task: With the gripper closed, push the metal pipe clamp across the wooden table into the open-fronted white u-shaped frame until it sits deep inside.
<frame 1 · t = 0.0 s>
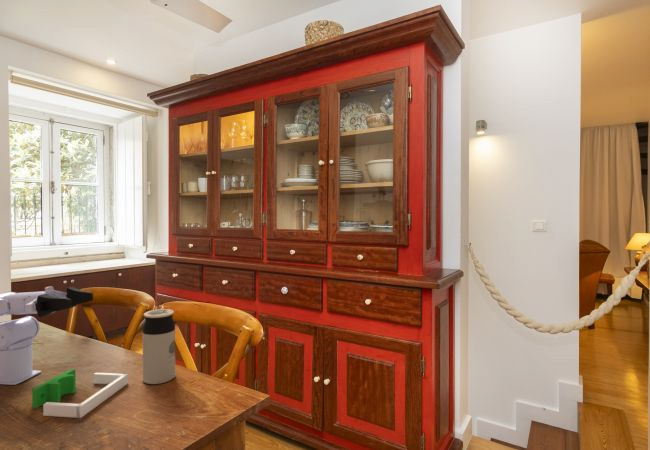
hand: (81, 299, 97), 22 cm above the table, tool horizontal, fingers open, 7 cm apart
pipe clamp: (59, 398, 90), on the table
white u-shaped frame: (88, 398, 89), on the table
travel mug: (159, 379, 100), on the table
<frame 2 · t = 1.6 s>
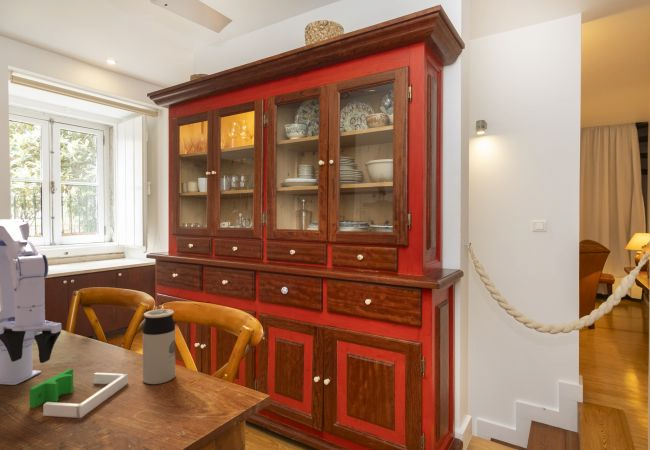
hand: (30, 360, 90), 8 cm above the table, tool pointing down, fingers open, 7 cm apart
nothing on the table moved.
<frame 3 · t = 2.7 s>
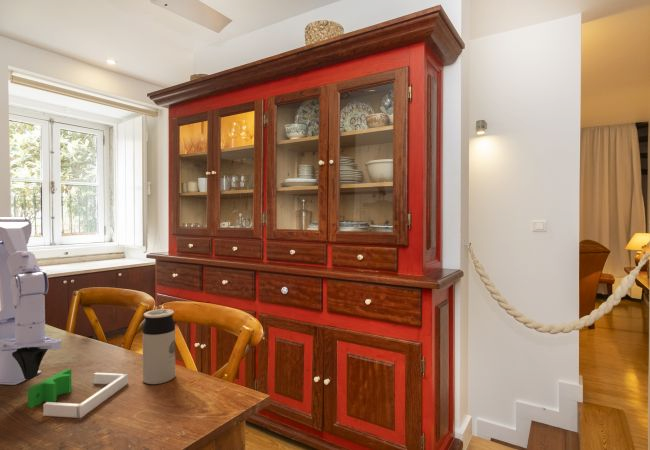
hand: (30, 377, 90), 4 cm above the table, tool pointing down, fingers closed
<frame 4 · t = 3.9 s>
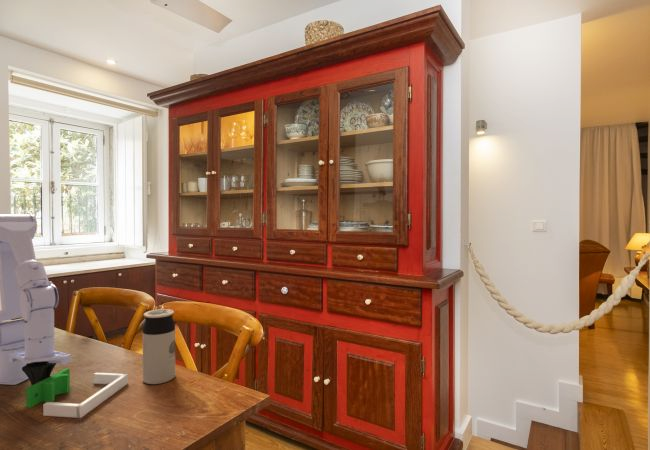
hand: (40, 391, 90), 1 cm above the table, tool pointing down, fingers closed
pipe clamp: (53, 397, 90), on the table, touching gripper
everything else where it was.
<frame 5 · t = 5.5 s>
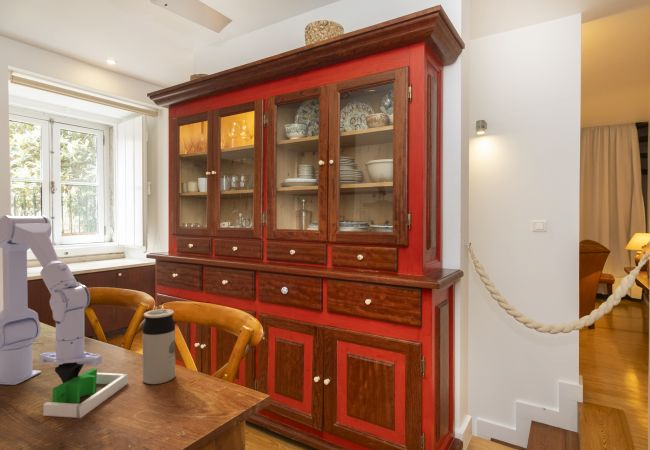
hand: (70, 392, 90), 1 cm above the table, tool pointing down, fingers closed, pressing on pipe clamp
pipe clamp: (79, 398, 90), on the table, touching gripper
everything else where it was.
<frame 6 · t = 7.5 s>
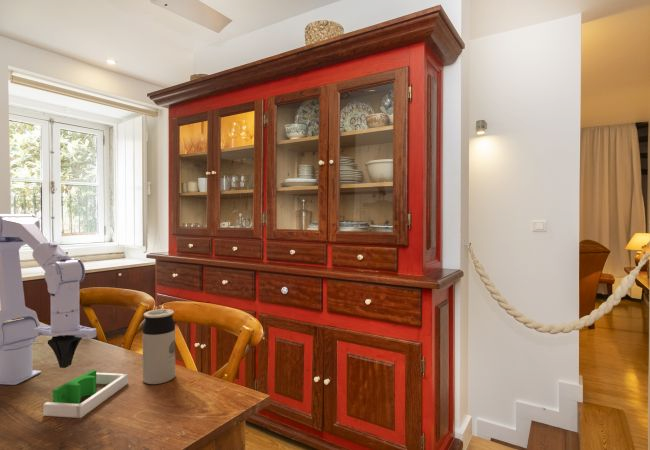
hand: (65, 366, 90), 7 cm above the table, tool pointing down, fingers closed
pipe clamp: (79, 399, 89), on the table
everything else where it was.
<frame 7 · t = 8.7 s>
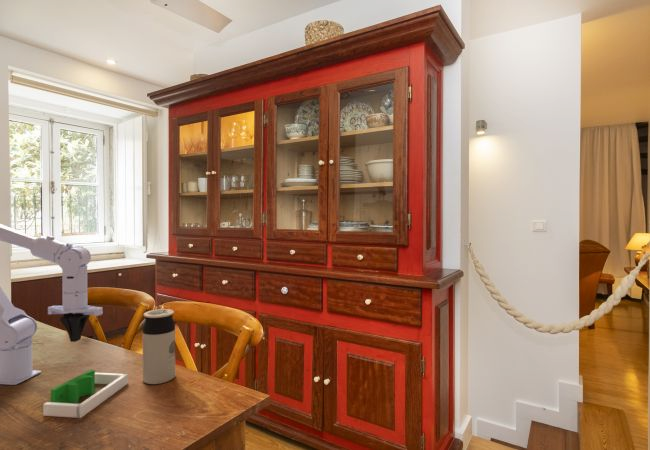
hand: (75, 340, 102), 9 cm above the table, tool pointing down, fingers closed
nothing on the table moved.
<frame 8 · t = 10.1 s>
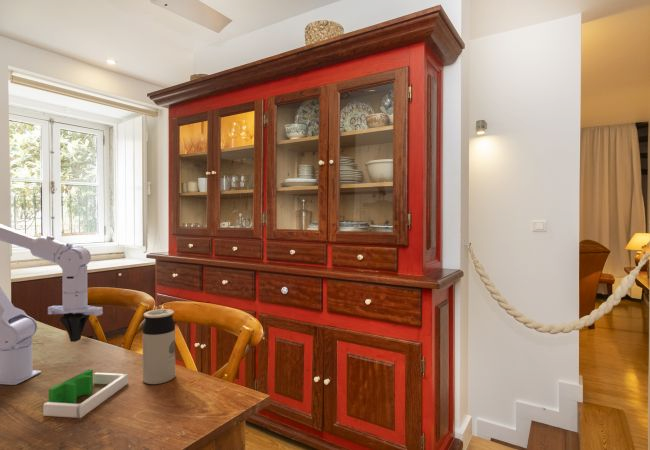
hand: (75, 340, 102), 9 cm above the table, tool pointing down, fingers closed
at the end: pipe clamp 3.5 cm off-centre on the white u-shaped frame, point 0.0 cm above the white u-shaped frame's base; pipe clamp moved 4.1 cm from its start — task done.
